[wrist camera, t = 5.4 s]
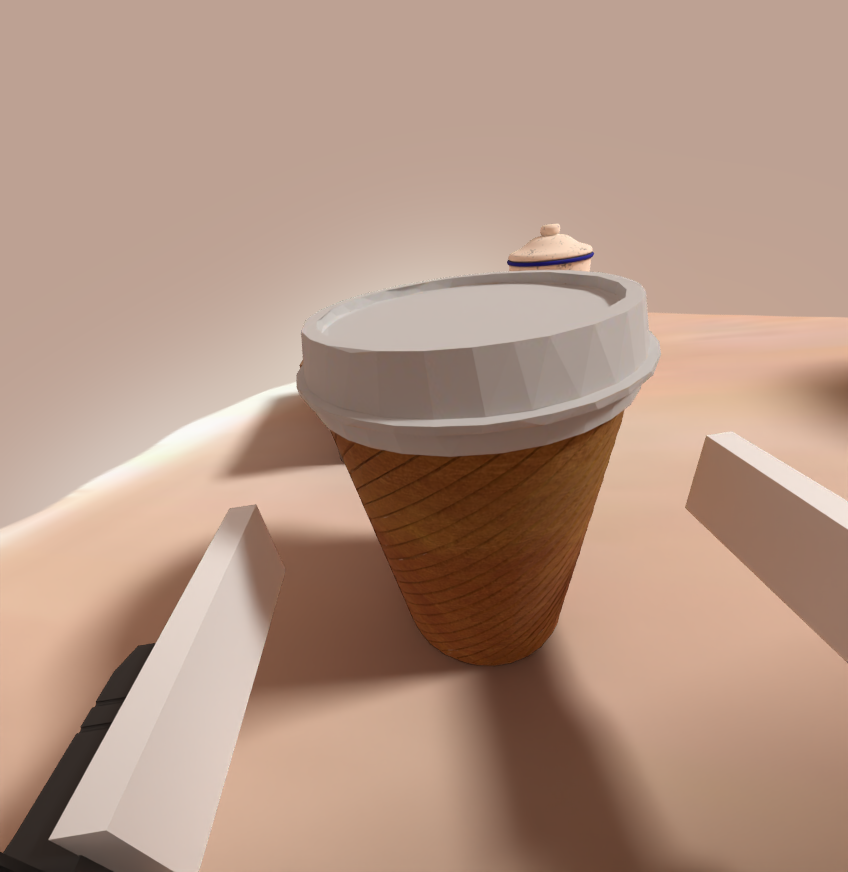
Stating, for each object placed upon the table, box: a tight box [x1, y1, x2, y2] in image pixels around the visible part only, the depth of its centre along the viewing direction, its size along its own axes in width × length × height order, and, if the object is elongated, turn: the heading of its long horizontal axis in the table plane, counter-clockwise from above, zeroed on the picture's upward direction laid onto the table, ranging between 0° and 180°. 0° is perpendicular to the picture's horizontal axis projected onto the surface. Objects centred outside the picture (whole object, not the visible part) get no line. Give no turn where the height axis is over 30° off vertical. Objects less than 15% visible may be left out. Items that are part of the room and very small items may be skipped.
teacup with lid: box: [507, 224, 594, 272], centre depth 42 cm, size 12×9×12 cm
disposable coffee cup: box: [297, 270, 661, 666], centre depth 13 cm, size 10×10×12 cm
